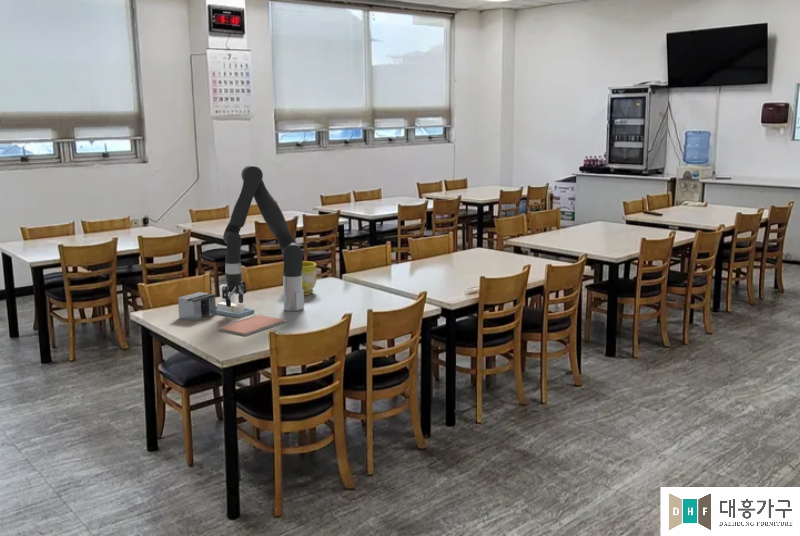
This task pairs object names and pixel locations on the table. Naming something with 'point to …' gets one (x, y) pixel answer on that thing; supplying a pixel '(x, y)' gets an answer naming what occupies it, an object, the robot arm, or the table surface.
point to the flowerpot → (308, 276)
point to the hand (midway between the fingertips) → (234, 304)
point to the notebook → (251, 325)
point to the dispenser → (196, 306)
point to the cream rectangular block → (233, 308)
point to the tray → (237, 315)
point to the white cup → (228, 296)
